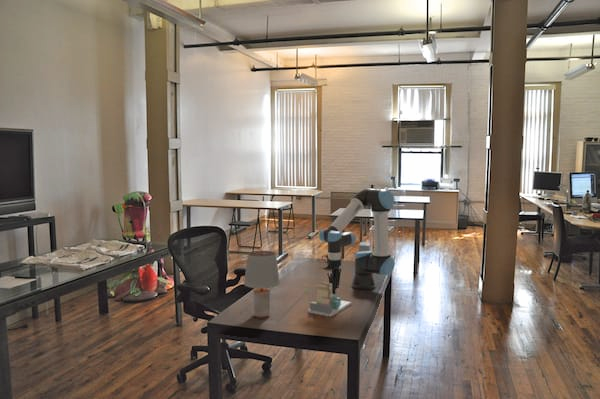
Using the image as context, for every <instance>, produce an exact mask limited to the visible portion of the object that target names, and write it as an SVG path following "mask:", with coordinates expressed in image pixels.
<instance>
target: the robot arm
mask: <svg viewBox="0 0 600 399" xmlns="http://www.w3.org/2000/svg"><path fill="white" fill-rule="evenodd" d="M394 204H395V196H394V194H393V193H392V191H391V190H389V189H384V188H370V187H369V188H365V189H363V190H361V191H359V192H358V193H357V194H355V195H353V197H352V198H351V200H350V203H348V205H347V206H346V207H345V209H344V210H343V211H342V212H341V213H340V214H339V215H338V216H337V217H336V219H335V220H334V221H333V222H332V223H331V224H330V226H328V228H327V229H325V228H324V229H320V231H319V234H318V238H319V240H320V241H321V242H324V243H327V253H328V264H327V267H328V266H330V267H329V272H328V273H327V276H328V277H327V278H328V283H331V284H332V296H333V297H338V289H340V288H339V287H340V281H341V280H340V279H341V273H342V268H340V267H341V266H342V248H343V247H347V246H351V245H353V244H355V242H356V239H357V238H356V235H355V233H354V232H353V231H345V232H344V229H346V227H347V226H348V225H349V224H350V223H351V221H352V220H353V219H354V218H355V217H356V216H357V214H358V213H359V212H361V211H363V210H364V209H365V208H367V207H368V208H369V207H370V208H371V209H370V210H371V212H372V214H373V239H374V240H373V241H374V244H373V247H374V250H373V251H371V250H370V251H361V252H359V251H358V252H356V253H355V255H354V275H353V278H352V282H351V288H354V289H357V290H372V289H375V288H376V281H375V279H374V278H375V277H374V275H373V274H376V275H380V276H389V275H391V274H392V273H393V271H394V269H395V264H396V263H395V259H394V258H393V257H391V255H392V253H391V251H389V218H388V216H389V213H390V212H391V209H392V208H393V207H394Z"/></svg>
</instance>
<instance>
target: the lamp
mask: <svg viewBox="0 0 600 399" xmlns="http://www.w3.org/2000/svg"><path fill="white" fill-rule="evenodd" d="M246 259H247V260H246V264H245V265H246V266H245V274H244V279H243V280H244V281H243V285H244V286H245V287H248V288H251V289H253V290H252V315H253V316H254V318H257V319H267V318H269V316H270V315H271V290H270V288H275V287H278V286H279V285H280V284H281V283H280V281H281V280H280V273H279V266H278V259H277V253H276V252H275V251H271V250H254V251H253V250H252V251H250V252H247V257H246Z"/></svg>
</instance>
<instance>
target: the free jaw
mask: <svg viewBox="0 0 600 399" xmlns="http://www.w3.org/2000/svg"><path fill="white" fill-rule="evenodd" d="M341 299H342V298H341V297H338V296H337V297H333V296H332V308H333V309H338V308H339V305H341Z"/></svg>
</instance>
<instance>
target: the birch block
mask: <svg viewBox="0 0 600 399" xmlns="http://www.w3.org/2000/svg"><path fill="white" fill-rule="evenodd" d="M316 302H318V303H323V304H328V305H332V284H331V283H329V282H323V281H321V282H320V283H318V284H317V285H316Z"/></svg>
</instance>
